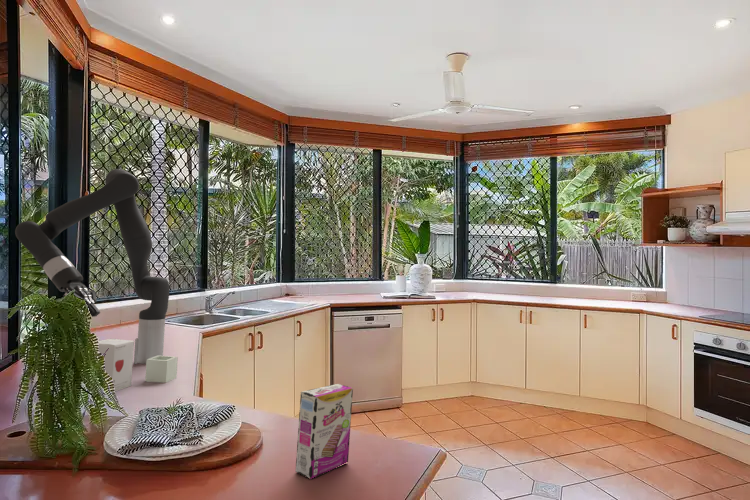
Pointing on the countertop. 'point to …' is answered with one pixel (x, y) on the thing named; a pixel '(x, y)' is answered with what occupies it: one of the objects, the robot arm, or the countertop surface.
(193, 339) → the countertop surface
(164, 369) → the stoneware open box
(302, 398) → the candy bar box
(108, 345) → the supplement box
